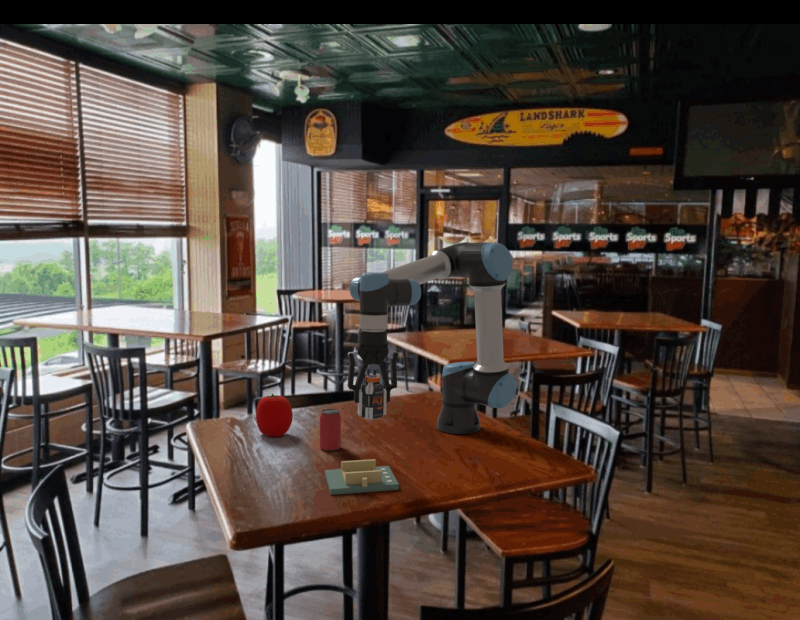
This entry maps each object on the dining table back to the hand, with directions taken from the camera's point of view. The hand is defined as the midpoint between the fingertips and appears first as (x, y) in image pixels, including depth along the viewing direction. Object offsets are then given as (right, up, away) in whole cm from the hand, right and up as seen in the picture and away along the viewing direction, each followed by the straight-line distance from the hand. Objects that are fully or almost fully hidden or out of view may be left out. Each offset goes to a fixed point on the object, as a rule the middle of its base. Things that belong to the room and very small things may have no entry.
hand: (371, 413), depth 176 cm
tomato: (-34, -14, +40) cm, 54 cm away
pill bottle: (0, -1, 0) cm, 1 cm away
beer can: (-14, -15, +27) cm, 34 cm away
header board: (-3, -18, -1) cm, 19 cm away
